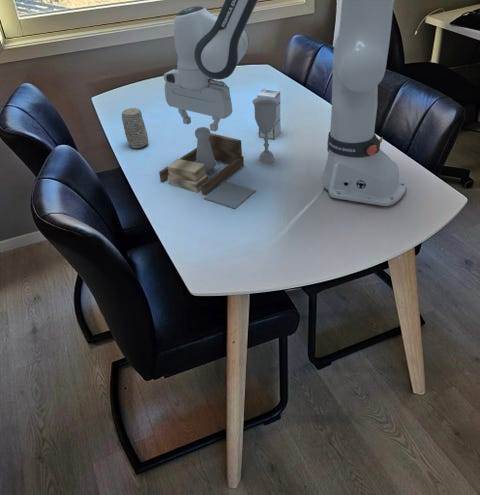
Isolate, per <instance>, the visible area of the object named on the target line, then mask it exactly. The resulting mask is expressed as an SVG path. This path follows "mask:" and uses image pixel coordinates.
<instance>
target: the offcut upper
mask: <svg viewBox="0 0 480 495" xmlns="http://www.w3.org/2000/svg"><path fill="white" fill-rule="evenodd" d="M167 167H168V172H169V176H170V177H175V178H180V179H184V180H189V181H194V182H197V181H198V180H199V179H201V178H202V177H203V176H204V175H205V174H206V171H205V164H202V163H197V162H196V161H194V162H191V161H186V160H181V159H180V158H177V159H175V160H174V161H173V162H171V163H170V164H169V165H167ZM206 175H207V174H206Z"/></svg>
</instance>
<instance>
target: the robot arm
mask: <svg viewBox="0 0 480 495" xmlns="http://www.w3.org/2000/svg"><path fill="white" fill-rule="evenodd" d="M259 1H260V0H224V2H223V4H222V6H221V9H220V11H219V14H218V15H214V14H213V13H211V12H210V11H209V10H207V9H206V7H204V6H198V5H197V6H191V7H187V8H185V9H182V10H181V11H179V12H178V13H177V14H176V16H175V17H174V19H173V20H174V21H173V22H174V23H173V36H174V37H173V38H174V48H175V51H176V54H177V63H176V64H177V65H176V68H174V69H171V70H169V71H167V72H165V73H163V80H164V82H165V83H164V95H165V96H164V97H165V101H166V103H167V105H168V107H170V108H171V107H172V108H176V109H177V110H178V113H179V115H180V116H181V118H182V124H184V125H189V124H191V122H192V120H191V119H192V118H191V116H189V114H188V112H193V113H196V114H201V115H205V116H209V117H211V118H212V119H211V120H213V122H212V123H210V124H209V130H210V132H217V131H218V130H219V123H220V121H221V119H222V120H225V119H226V118H228V117H230V116H231V115H232V113H233V104H232V98H231V93H230V92H231V90H230V87H229V86H228V85H227V84H226V83H225V81H222V80H224V79H227V78H229V77H230V76H231V75H233V73H234V71H235V69H236V68H237V66H238V64H239V63H240V61H241V60H242V59H243V58H244V56H245V54H246V52H248V48H249V42H250V41H249V36H248V32H247V31H246V29H245V28H246V26H247V25H248V22H249V20H250V18H251V16H252V14H253V11H254V9H255V8H256V6H257V4H258V3H259ZM394 2H395V0H341V9H340V11H341V12H340V22H339V23H340V24H339V32H338V33H339V34H338V36H337V37H336V40H335V42H334V46H333V59H332V60H333V61H332V81H331V82H332V83H331V84H332V88H331V91H332V92H331V115H330V131H329V132H328V136H327V143H326V144H327V148H326V149H327V157H326V158H327V160H326V163H325V166H324V167H325V168H324V171H323V174H322V177H321V183H322V185H323V187H324V189H325V190H327V191H328V195H329V197H331V198H334V199H338V200H339V199H340V200H346V201H351V202H358V203H364V204H369V205H375V206H376V205H377V206H383V207H388V206H391V205H394V204H395V203H397V202H398V201H400V199H402V197H403V196H404V195H405V193H406V190H407V182H406V180H405V179H404V178H402V177H401V178H400V172H399V166H398V164H397V163H396V162H395V161H394V160H393V159H392V158H390V157H389V155H388V154H386V153H385V152H384V151H383V150H382V149H381V144H382V142H383V136H381V138H378V137H377V135H376V133H375V128H376V127H375V126H376V121H377V120H376V119H377V111H378V93H379V92H378V85H379V84H380V83H381V82H382V80H383V79H384V76H385V72H386V69H387V61H388V55H389V48H390V42H391V33H392V32H391V31H392V22H393V12H394ZM187 111H188V112H187Z"/></svg>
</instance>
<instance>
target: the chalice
mask: <svg viewBox="0 0 480 495" xmlns="http://www.w3.org/2000/svg"><path fill="white" fill-rule="evenodd" d="M251 103H252V104H253V106H254V109H253V110H254V119H255V122H256V124H257V126H258V130H259V129H260V130H261V132H262V133H264V135H265V136H264V138H263V142H264V144H263V146H264V150H263V151H262V152H261V153H260V155H259V156H258V157H259V158H258V160H257V161H258V162H259V164H263V165H269V164H272V163H274V162H275V161H276V158H275V156H274V153H273V152H272V151H271V150H269V147H270V143H269V140H270V139H269V138H268V133H270V132H271V130H272V128H273V126H274V124H275V121H276V105H277V103H278V100H277V99H276V98H273V97H259V98H257V97H256V98H254V99H253V100H252V102H251Z"/></svg>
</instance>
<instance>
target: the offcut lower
mask: <svg viewBox="0 0 480 495" xmlns="http://www.w3.org/2000/svg"><path fill="white" fill-rule="evenodd" d="M208 179H210V177H209V174H205V175H204V176H203V177H202V178H201V179H199V180H198V181H197V182H194V181H189V180H184V179H180V178H175V177H170V176H169V175H168V179H167V181H168V185H171V186H175V187H178V188H181V189H185V190H188V191H192V192H195V193H198V192H200V191H202V188H201V184H203V183H204V182H205V181H207V180H208Z"/></svg>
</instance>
